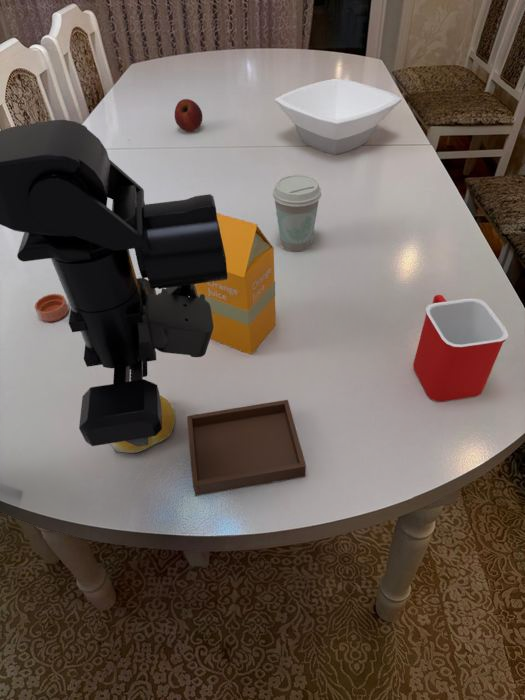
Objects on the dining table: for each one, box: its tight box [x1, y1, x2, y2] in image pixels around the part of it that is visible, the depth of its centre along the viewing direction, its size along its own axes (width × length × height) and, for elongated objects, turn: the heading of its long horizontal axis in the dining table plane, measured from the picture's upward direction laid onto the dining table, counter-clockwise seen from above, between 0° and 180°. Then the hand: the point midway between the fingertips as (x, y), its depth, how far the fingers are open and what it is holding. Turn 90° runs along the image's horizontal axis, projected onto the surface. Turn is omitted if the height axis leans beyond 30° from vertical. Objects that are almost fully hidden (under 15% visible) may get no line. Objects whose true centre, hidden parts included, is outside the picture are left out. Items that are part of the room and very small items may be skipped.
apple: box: [174, 98, 203, 133], centre depth 133 cm, size 7×8×8 cm
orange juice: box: [195, 212, 277, 356], centre depth 71 cm, size 8×9×20 cm
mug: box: [412, 294, 510, 402], centre depth 67 cm, size 12×8×11 cm
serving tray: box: [186, 399, 307, 497], centre depth 61 cm, size 13×10×2 cm
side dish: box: [34, 293, 70, 323], centre depth 82 cm, size 5×5×2 cm
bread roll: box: [110, 395, 176, 454], centre depth 64 cm, size 8×9×4 cm
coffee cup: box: [272, 174, 322, 253], centre depth 90 cm, size 9×9×12 cm
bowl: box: [274, 77, 402, 155], centre depth 124 cm, size 24×25×10 cm
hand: (142, 408), depth 52 cm, fingers open, 9 cm apart
